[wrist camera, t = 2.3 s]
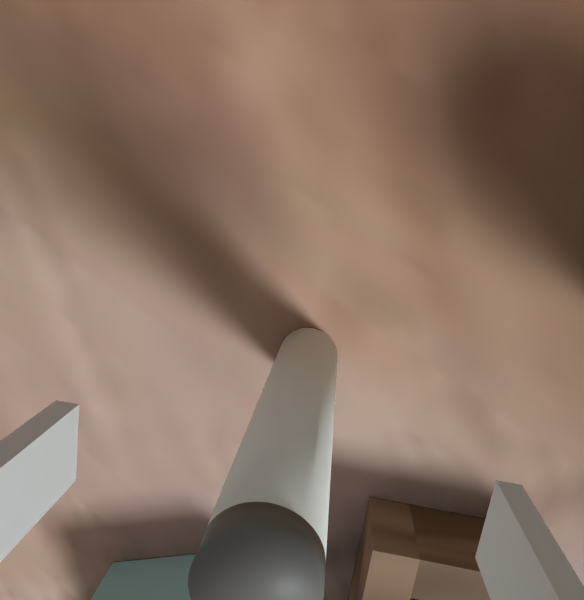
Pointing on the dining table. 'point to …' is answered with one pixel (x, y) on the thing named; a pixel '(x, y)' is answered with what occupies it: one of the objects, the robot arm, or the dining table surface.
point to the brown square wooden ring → (417, 555)
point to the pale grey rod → (276, 486)
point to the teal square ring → (147, 579)
